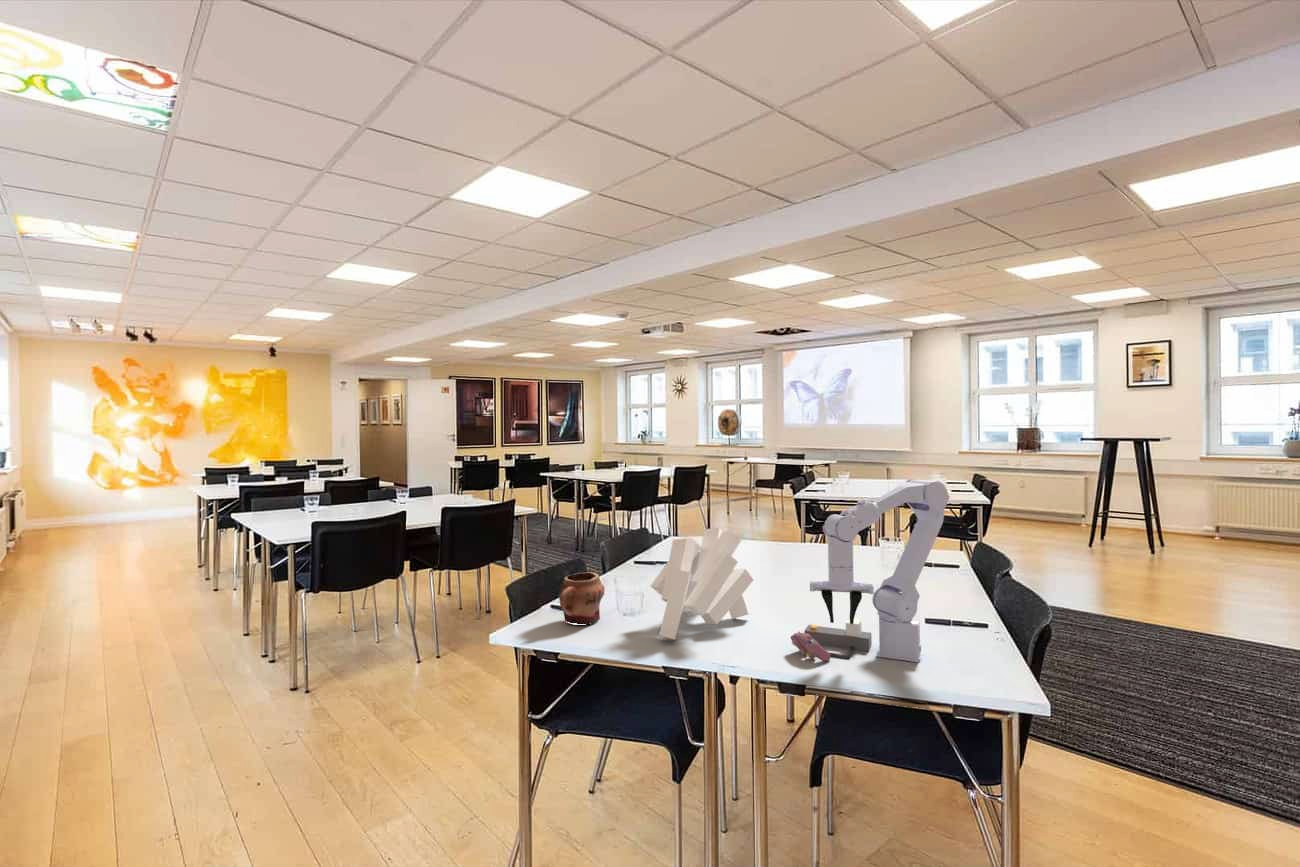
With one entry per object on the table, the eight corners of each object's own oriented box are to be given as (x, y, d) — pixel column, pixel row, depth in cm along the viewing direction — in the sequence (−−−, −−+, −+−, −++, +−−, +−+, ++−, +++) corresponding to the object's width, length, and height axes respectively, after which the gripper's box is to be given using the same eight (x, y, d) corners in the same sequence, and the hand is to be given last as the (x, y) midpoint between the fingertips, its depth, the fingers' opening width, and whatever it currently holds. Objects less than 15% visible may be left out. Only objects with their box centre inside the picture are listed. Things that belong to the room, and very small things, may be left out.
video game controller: (795, 656, 155) (784, 633, 154) (809, 646, 157) (798, 623, 156) (819, 670, 146) (808, 646, 145) (833, 659, 147) (822, 635, 146)
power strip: (871, 645, 158) (871, 620, 158) (865, 661, 147) (864, 634, 147) (808, 636, 165) (808, 613, 165) (798, 652, 154) (797, 626, 154)
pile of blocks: (738, 673, 155) (786, 543, 163) (629, 623, 160) (682, 500, 168) (728, 661, 188) (769, 555, 196) (639, 620, 193) (682, 518, 201)
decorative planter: (584, 636, 169) (583, 585, 169) (545, 632, 173) (544, 582, 173) (613, 615, 187) (612, 570, 187) (577, 612, 191) (576, 567, 191)
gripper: (871, 562, 149) (871, 618, 149) (809, 560, 153) (810, 615, 153) (874, 569, 143) (875, 627, 143) (809, 567, 146) (810, 624, 146)
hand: (841, 622), depth 147 cm, fingers open, 4 cm apart
